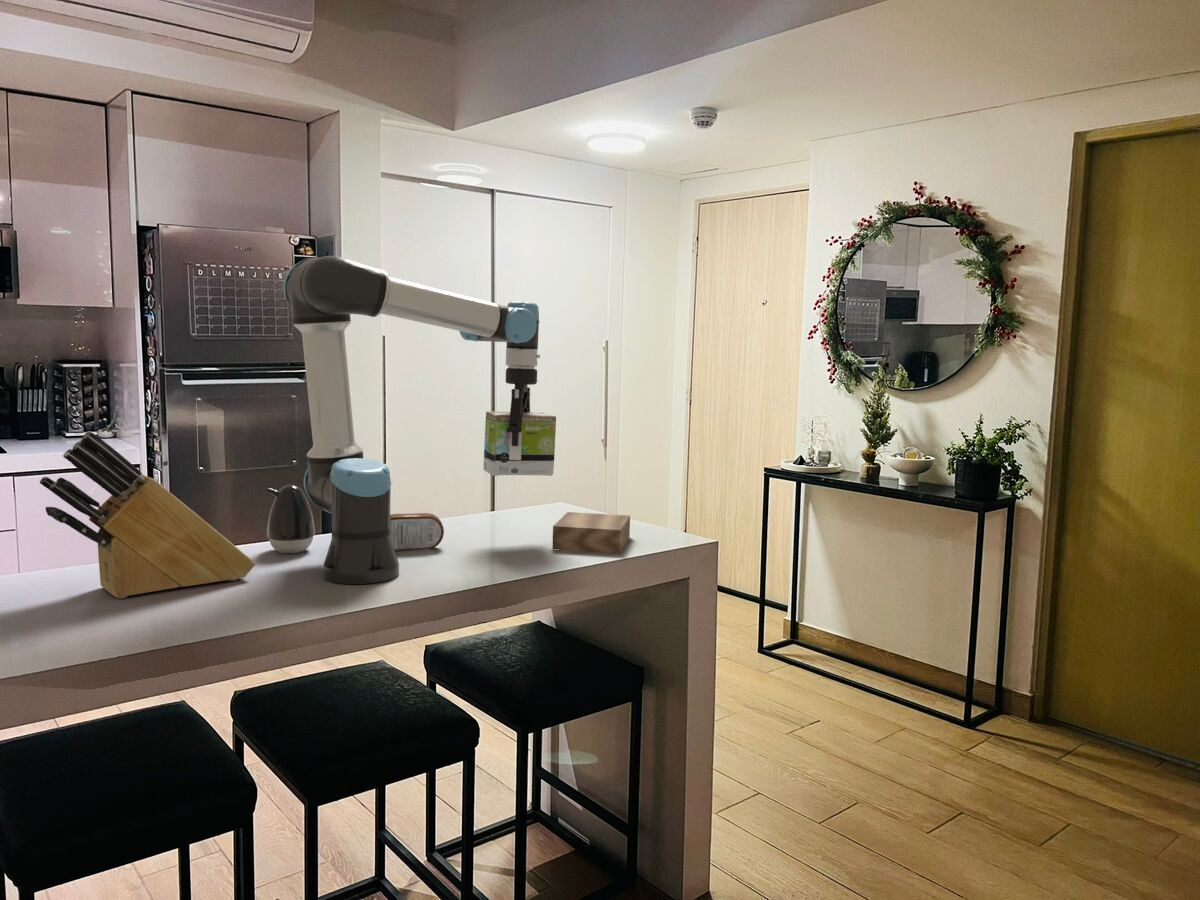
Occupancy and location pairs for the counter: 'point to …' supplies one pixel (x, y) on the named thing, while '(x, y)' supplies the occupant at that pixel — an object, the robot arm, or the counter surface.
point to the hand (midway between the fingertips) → (519, 456)
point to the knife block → (142, 527)
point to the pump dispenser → (290, 520)
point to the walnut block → (591, 532)
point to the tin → (415, 531)
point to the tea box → (533, 447)
